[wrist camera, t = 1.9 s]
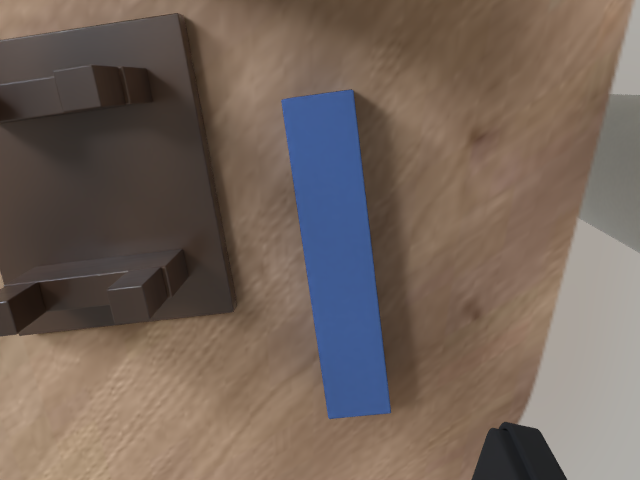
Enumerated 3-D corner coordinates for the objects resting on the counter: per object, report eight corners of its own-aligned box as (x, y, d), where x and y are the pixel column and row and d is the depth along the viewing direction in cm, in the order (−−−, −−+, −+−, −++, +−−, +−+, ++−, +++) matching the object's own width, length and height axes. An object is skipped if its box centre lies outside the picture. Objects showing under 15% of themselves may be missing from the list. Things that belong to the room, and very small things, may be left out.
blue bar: (352, 89, 28) (353, 89, 25) (386, 382, 32) (391, 413, 29) (288, 98, 28) (280, 99, 25) (330, 387, 32) (328, 419, 29)
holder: (184, 15, 28) (135, -6, 21) (237, 305, 31) (209, 361, 25) (-51, 51, 29) (-165, 41, 22) (28, 328, 32) (-50, 388, 26)
